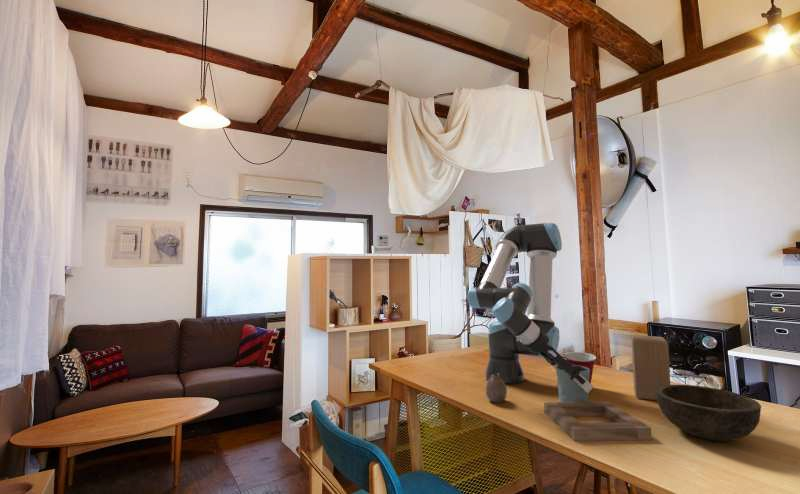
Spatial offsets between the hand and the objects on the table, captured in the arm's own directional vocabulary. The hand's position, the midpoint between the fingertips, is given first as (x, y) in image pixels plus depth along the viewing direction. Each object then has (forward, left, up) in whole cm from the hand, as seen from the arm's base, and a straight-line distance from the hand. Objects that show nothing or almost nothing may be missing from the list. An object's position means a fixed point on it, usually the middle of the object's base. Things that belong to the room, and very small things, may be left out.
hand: (579, 383), depth 125 cm
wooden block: (-7, +28, -7) cm, 30 cm away
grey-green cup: (0, -2, -7) cm, 7 cm away
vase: (-5, -26, -7) cm, 28 cm away
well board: (+16, -4, -7) cm, 18 cm away
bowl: (+24, +22, -7) cm, 33 cm away
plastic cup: (-18, +9, -7) cm, 21 cm away
